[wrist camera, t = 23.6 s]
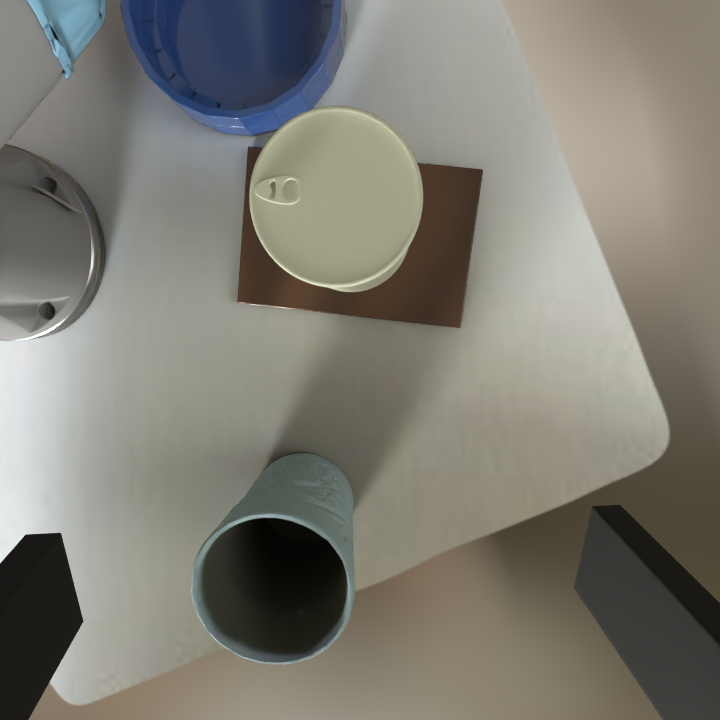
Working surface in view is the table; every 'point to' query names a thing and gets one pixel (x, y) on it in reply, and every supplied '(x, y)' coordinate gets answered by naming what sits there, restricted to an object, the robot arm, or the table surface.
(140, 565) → the table surface
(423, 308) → the board
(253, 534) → the blue cup
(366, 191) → the can
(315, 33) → the bowl
